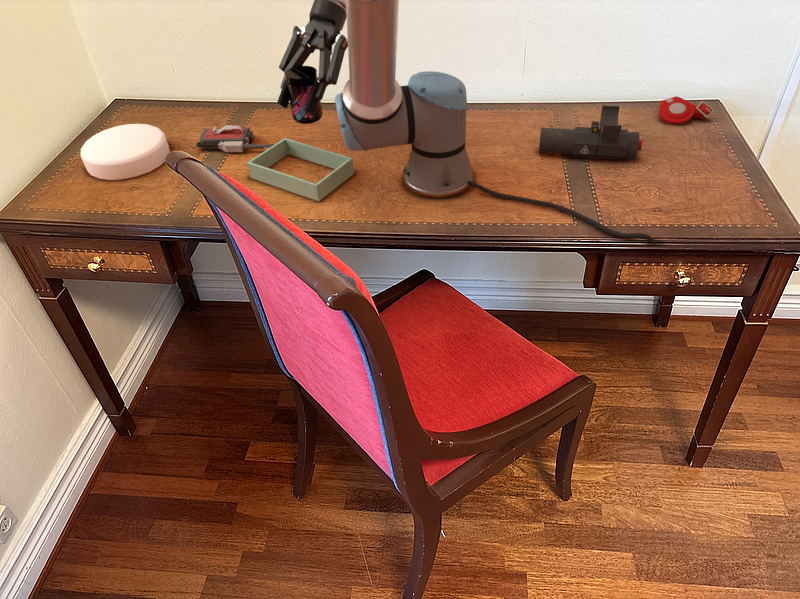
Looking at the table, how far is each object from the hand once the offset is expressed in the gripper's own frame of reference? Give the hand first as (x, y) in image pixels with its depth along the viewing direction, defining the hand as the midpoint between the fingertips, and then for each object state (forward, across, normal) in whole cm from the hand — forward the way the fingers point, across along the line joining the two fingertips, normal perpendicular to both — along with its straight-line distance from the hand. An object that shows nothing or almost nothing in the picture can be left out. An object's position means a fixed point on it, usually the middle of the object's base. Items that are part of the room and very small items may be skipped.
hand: (295, 108), depth 134 cm
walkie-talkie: (+10, +24, -13) cm, 29 cm away
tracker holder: (-35, -68, -58) cm, 96 cm away
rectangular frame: (+12, 0, -10) cm, 16 cm away
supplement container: (0, 0, -5) cm, 5 cm away
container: (+22, +44, -1) cm, 49 cm away
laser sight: (-15, -54, -38) cm, 68 cm away
